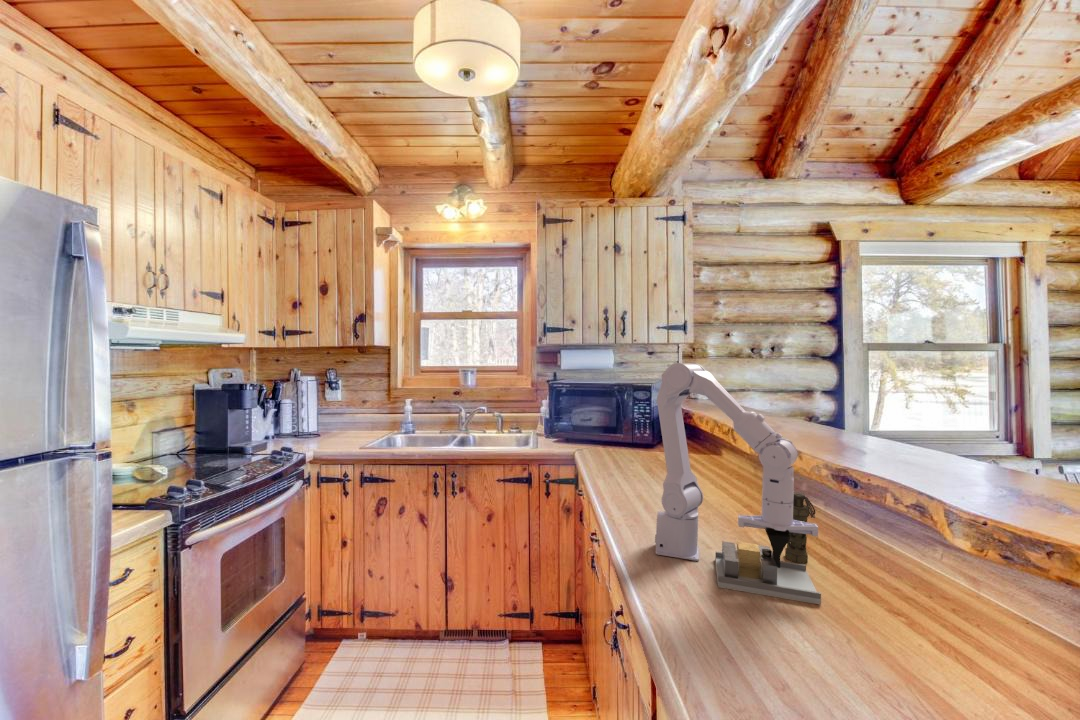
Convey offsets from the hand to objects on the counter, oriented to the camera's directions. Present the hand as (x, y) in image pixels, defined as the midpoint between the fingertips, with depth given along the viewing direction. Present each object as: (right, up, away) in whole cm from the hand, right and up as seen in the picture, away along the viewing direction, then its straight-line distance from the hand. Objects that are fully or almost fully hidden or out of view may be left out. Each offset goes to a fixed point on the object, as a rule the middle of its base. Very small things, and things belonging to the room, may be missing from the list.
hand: (775, 565), depth 96 cm
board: (-2, -3, +1) cm, 4 cm away
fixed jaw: (-8, -3, +3) cm, 9 cm away
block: (-5, -2, +2) cm, 6 cm away
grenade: (+12, -4, +12) cm, 17 cm away
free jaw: (-2, -2, +1) cm, 3 cm away
